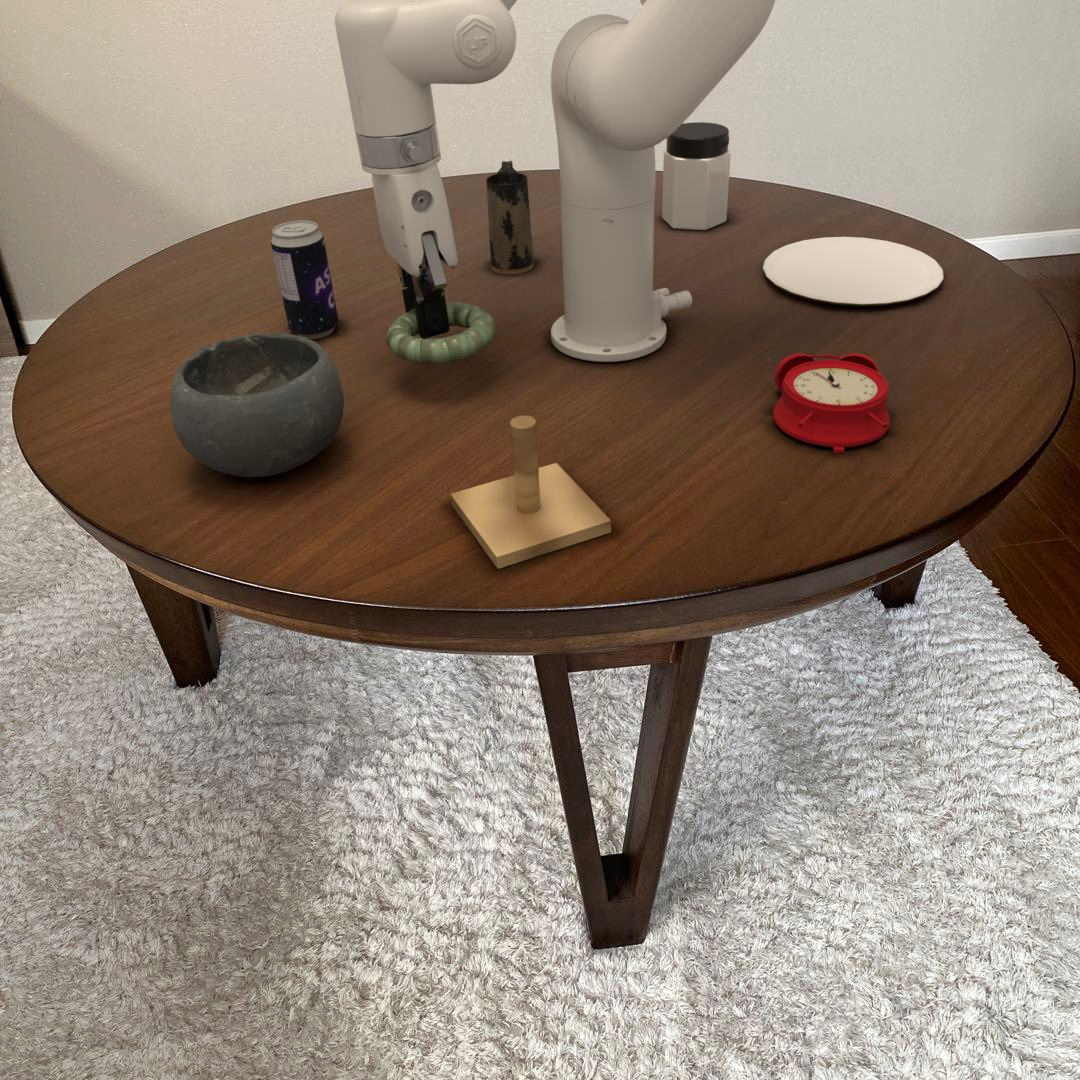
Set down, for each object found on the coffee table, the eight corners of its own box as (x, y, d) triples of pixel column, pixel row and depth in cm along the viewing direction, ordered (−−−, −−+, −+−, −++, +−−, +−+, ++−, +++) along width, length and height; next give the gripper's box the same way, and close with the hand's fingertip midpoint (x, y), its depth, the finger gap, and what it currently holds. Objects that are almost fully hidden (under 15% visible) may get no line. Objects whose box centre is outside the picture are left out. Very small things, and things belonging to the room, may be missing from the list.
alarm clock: (783, 420, 86) (772, 314, 96) (775, 471, 91) (765, 365, 101) (907, 421, 85) (884, 313, 95) (893, 473, 90) (871, 365, 100)
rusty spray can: (533, 273, 126) (528, 176, 119) (490, 275, 126) (482, 178, 119) (533, 251, 132) (529, 157, 125) (492, 253, 132) (485, 159, 125)
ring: (471, 311, 107) (468, 290, 105) (512, 348, 99) (510, 326, 97) (375, 337, 104) (371, 316, 102) (410, 378, 96) (405, 355, 94)
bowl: (159, 464, 93) (127, 367, 87) (295, 405, 101) (275, 312, 95) (243, 527, 84) (214, 423, 78) (385, 456, 92) (368, 357, 86)
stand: (557, 473, 88) (552, 380, 83) (611, 532, 81) (610, 433, 75) (451, 505, 85) (439, 410, 79) (497, 569, 78) (488, 469, 72)
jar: (734, 227, 136) (740, 135, 129) (676, 234, 134) (680, 142, 127) (710, 207, 143) (715, 118, 136) (655, 213, 142) (657, 125, 134)
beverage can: (329, 342, 112) (309, 237, 105) (282, 340, 113) (259, 236, 106) (347, 321, 117) (329, 219, 110) (301, 319, 118) (281, 218, 111)
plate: (981, 290, 115) (983, 280, 114) (827, 326, 109) (829, 315, 109) (869, 235, 131) (870, 225, 130) (730, 263, 125) (730, 253, 125)
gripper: (468, 158, 88) (492, 348, 99) (408, 121, 100) (435, 293, 111) (388, 176, 86) (421, 368, 97) (336, 136, 98) (371, 310, 109)
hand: (428, 326), depth 104 cm, fingers closed on ring, 2 cm apart
